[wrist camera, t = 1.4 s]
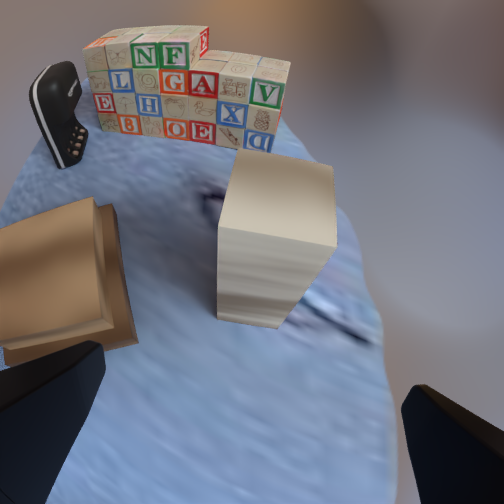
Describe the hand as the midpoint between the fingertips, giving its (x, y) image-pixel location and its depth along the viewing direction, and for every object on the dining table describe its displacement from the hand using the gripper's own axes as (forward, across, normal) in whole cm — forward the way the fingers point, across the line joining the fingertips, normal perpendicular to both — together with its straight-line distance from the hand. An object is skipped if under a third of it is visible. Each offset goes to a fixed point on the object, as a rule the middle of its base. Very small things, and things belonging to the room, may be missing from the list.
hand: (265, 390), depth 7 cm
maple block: (+12, +16, +5) cm, 20 cm away
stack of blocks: (+29, +10, -10) cm, 32 cm away
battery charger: (+24, +23, -6) cm, 34 cm away
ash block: (+15, 0, +4) cm, 15 cm away
